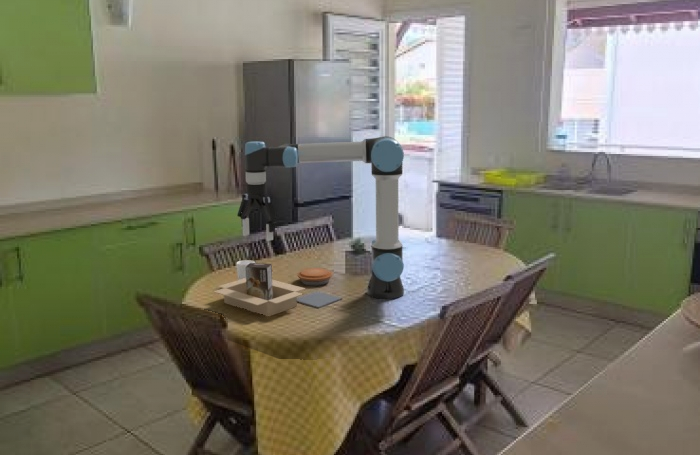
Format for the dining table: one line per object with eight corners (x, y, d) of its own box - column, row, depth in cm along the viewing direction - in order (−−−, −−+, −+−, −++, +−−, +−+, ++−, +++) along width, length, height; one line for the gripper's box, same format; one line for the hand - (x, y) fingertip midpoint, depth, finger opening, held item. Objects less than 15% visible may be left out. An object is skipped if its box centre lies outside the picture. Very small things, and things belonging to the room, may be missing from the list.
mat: (342, 299, 254) (342, 297, 254) (318, 308, 243) (318, 306, 243) (316, 292, 263) (316, 291, 262) (292, 301, 252) (292, 299, 252)
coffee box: (273, 302, 250) (272, 263, 247) (269, 307, 244) (267, 267, 241) (251, 301, 252) (250, 262, 249) (246, 306, 246) (244, 266, 242)
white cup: (240, 288, 268) (239, 265, 266) (235, 283, 275) (234, 261, 273) (258, 285, 272) (257, 263, 270) (252, 281, 279) (251, 259, 277)
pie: (339, 280, 280) (339, 269, 279) (320, 289, 267) (319, 277, 266) (310, 275, 288) (310, 264, 287) (290, 283, 275) (290, 272, 274)
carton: (313, 305, 247) (312, 290, 246) (265, 322, 228) (265, 307, 227) (255, 288, 268) (255, 275, 267) (207, 303, 249) (207, 289, 248)
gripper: (286, 184, 233) (287, 240, 238) (241, 179, 249) (243, 231, 253) (271, 187, 228) (273, 244, 232) (226, 181, 243) (229, 234, 248)
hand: (257, 237), depth 243 cm, fingers open, 13 cm apart
